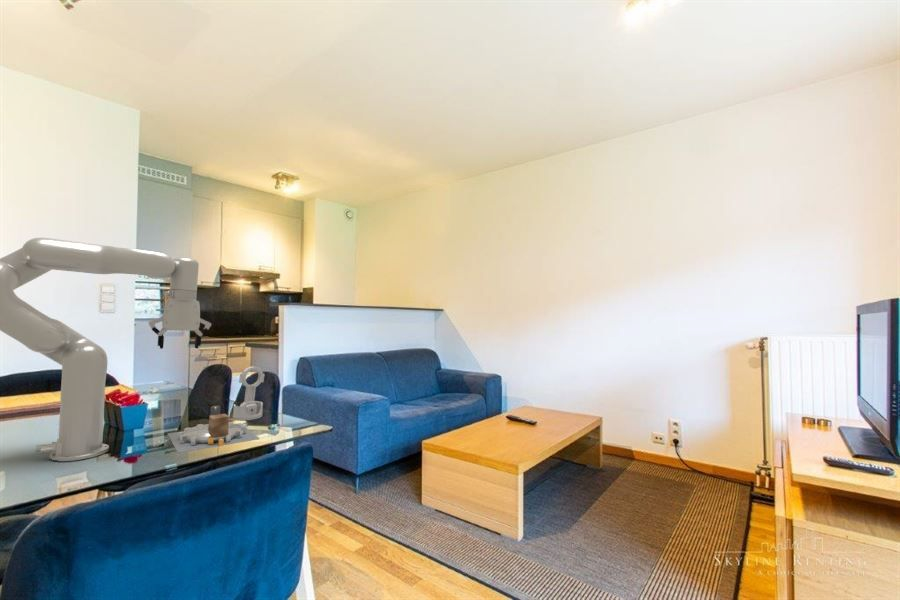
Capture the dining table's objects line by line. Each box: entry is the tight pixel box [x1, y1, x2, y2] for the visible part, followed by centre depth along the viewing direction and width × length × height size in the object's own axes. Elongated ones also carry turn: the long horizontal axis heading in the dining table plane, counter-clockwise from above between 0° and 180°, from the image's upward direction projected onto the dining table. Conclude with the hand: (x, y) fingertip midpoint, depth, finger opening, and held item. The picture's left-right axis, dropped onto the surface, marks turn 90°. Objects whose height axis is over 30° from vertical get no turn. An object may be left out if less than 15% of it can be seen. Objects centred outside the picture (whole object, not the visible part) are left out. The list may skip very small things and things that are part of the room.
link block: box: [208, 413, 230, 437], centre depth 129 cm, size 4×4×6 cm
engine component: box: [232, 365, 265, 421], centre depth 159 cm, size 11×20×10 cm
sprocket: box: [178, 405, 247, 445], centre depth 134 cm, size 19×19×8 cm
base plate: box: [166, 422, 260, 454], centre depth 134 cm, size 22×23×3 cm
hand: (179, 348), depth 136 cm, fingers open, 9 cm apart
